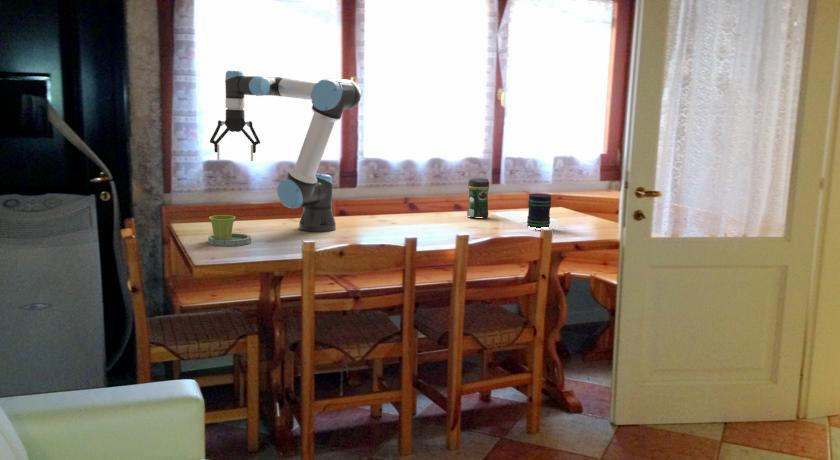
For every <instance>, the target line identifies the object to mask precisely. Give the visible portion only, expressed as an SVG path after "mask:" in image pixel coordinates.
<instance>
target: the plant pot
mask: <svg viewBox="0 0 840 460" xmlns="http://www.w3.org/2000/svg"><path fill="white" fill-rule="evenodd" d="M235 219H236V216H235V215H227V214H224V215H223V214H222V215H220V214H219V215H218V214H216V215H211V216H209V220H210V223H211V228H212V232H213V233H212V235H214V239H217V240H231V236H232V233H233V225H234V223H235Z"/></svg>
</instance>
